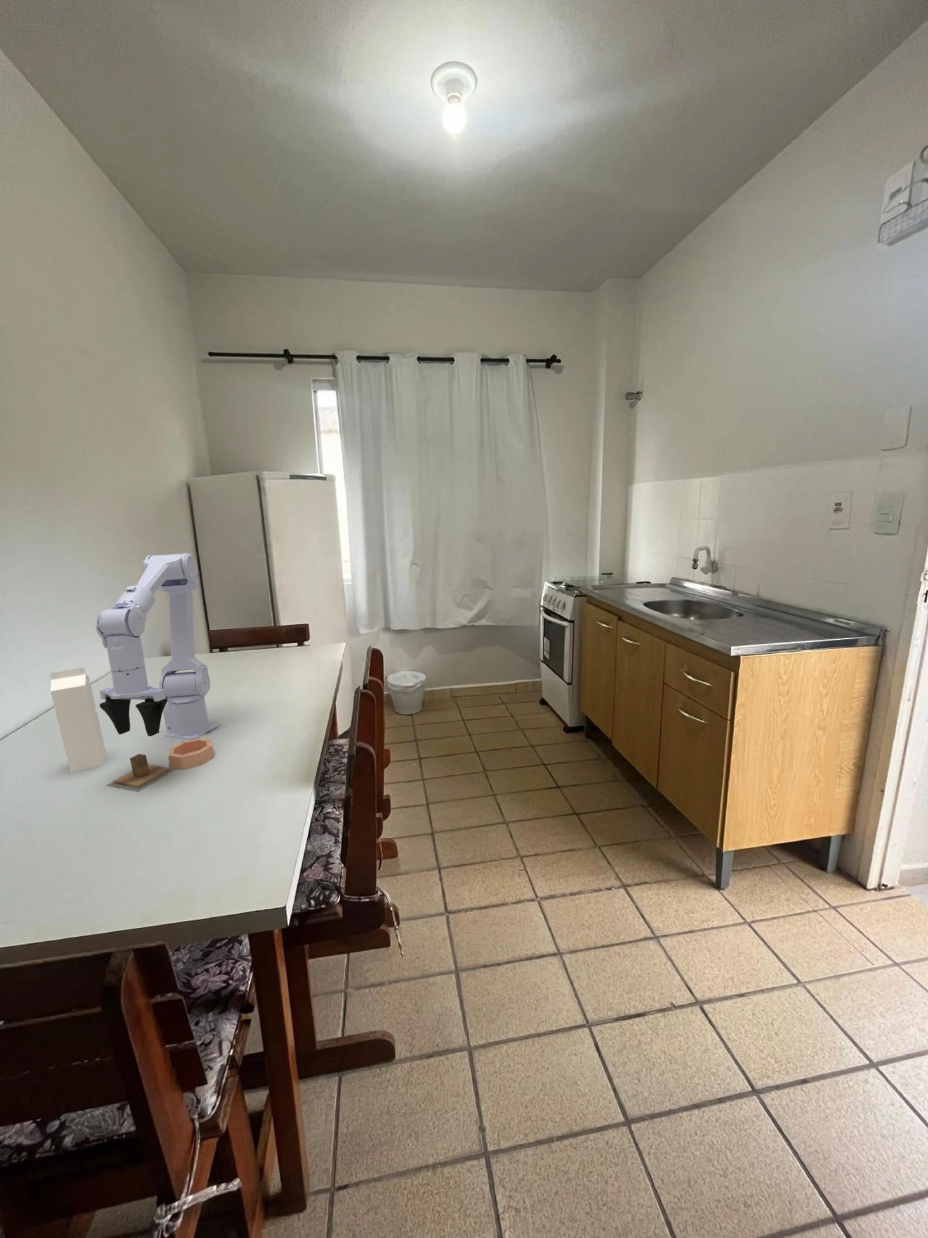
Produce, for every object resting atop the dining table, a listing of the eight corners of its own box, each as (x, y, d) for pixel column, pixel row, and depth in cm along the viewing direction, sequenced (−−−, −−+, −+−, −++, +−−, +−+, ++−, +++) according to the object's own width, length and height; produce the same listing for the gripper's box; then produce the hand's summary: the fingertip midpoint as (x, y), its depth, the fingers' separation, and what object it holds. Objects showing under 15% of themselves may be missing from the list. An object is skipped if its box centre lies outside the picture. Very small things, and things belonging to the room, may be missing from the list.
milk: (104, 766, 112) (82, 670, 107) (70, 774, 109) (46, 676, 104) (107, 755, 117) (86, 663, 112) (74, 762, 114) (52, 669, 109)
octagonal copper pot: (162, 766, 110) (159, 754, 109) (193, 749, 118) (191, 737, 117) (191, 771, 107) (189, 758, 107) (222, 753, 115) (220, 740, 114)
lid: (113, 783, 104) (109, 763, 103) (145, 766, 110) (141, 747, 109) (139, 788, 101) (134, 767, 100) (169, 770, 108) (165, 750, 107)
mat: (105, 786, 103) (105, 785, 103) (146, 765, 111) (145, 763, 111) (138, 793, 100) (138, 791, 100) (177, 770, 108) (177, 769, 108)
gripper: (80, 673, 100) (92, 739, 102) (139, 674, 96) (150, 743, 98) (114, 664, 106) (124, 726, 108) (170, 664, 102) (179, 729, 104)
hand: (138, 733), depth 103 cm, fingers open, 7 cm apart
